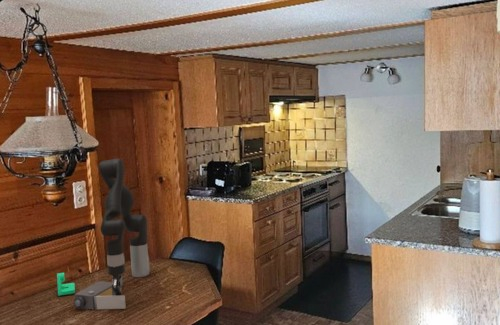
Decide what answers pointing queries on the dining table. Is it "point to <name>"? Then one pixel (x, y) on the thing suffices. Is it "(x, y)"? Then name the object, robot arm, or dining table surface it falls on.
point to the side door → (109, 302)
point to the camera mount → (64, 285)
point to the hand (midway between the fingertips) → (119, 299)
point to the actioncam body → (93, 294)
